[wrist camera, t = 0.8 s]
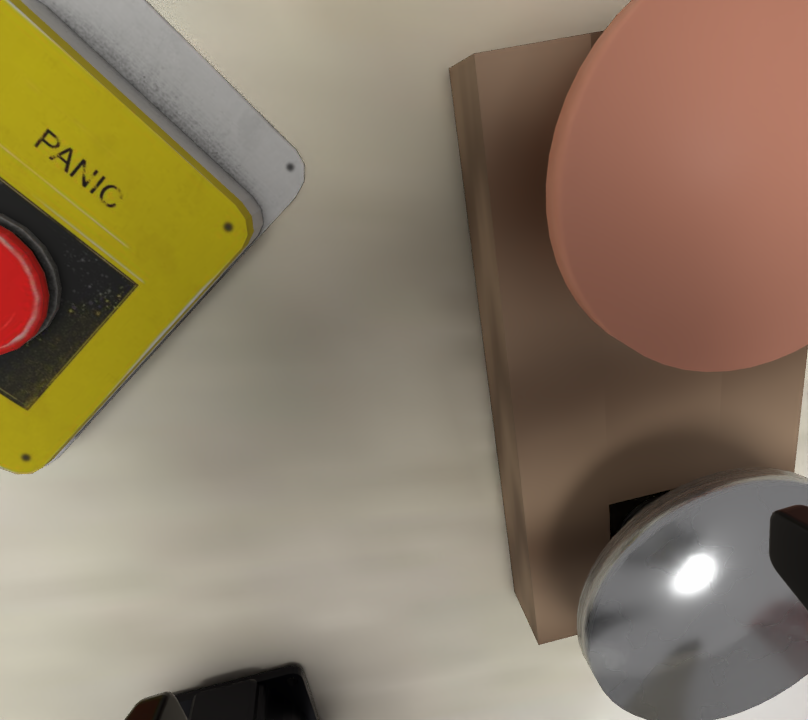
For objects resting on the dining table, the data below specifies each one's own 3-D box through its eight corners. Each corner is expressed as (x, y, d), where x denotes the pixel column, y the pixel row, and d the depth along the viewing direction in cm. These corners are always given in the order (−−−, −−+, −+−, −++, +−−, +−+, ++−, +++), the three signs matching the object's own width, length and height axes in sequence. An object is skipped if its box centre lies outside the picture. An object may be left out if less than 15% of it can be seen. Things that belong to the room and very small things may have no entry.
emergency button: (-380, 351, 14) (-18, -159, 11) (-222, 305, 18) (68, -78, 16) (-16, 545, 17) (320, 176, 15) (47, 469, 21) (318, 171, 19)
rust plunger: (793, 292, 19) (917, 329, 15) (519, 353, 19) (574, 408, 15) (825, -48, 16) (999, -114, 12) (484, 10, 15) (546, -40, 11)
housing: (733, 535, 27) (782, 580, 24) (514, 591, 26) (538, 644, 23) (767, 12, 19) (847, -12, 16) (448, 68, 18) (473, 53, 15)
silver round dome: (764, 595, 25) (851, 681, 21) (549, 653, 24) (596, 753, 20) (783, 394, 21) (894, 451, 17) (529, 454, 20) (582, 529, 16)
